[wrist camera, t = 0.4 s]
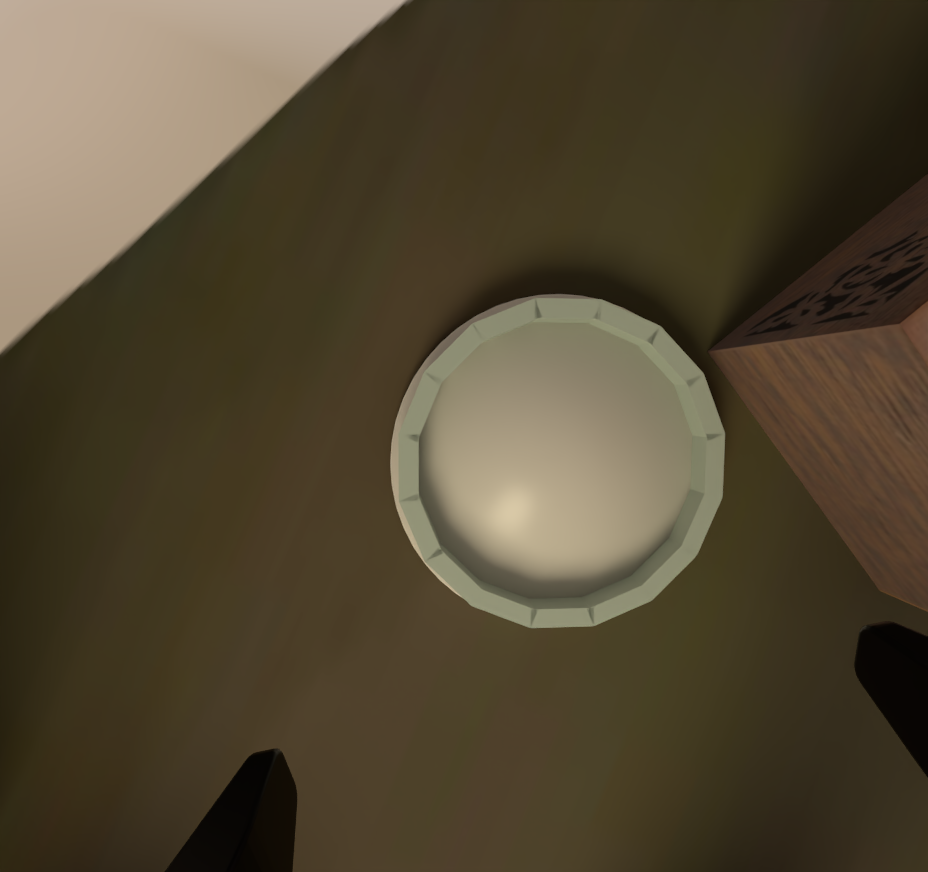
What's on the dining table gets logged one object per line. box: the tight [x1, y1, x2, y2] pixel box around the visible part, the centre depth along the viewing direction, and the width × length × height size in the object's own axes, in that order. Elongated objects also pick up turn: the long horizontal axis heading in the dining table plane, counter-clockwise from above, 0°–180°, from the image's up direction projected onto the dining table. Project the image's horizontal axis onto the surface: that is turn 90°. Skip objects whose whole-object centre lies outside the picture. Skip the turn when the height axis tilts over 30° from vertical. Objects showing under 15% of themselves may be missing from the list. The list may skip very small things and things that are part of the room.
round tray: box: [390, 294, 725, 628], centre depth 23 cm, size 14×14×2 cm
